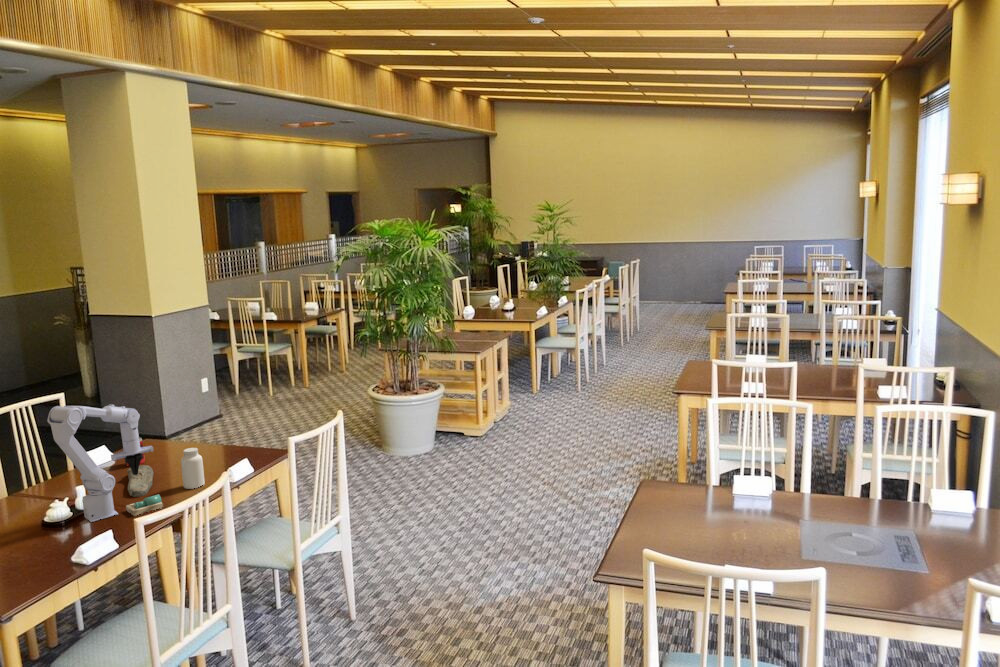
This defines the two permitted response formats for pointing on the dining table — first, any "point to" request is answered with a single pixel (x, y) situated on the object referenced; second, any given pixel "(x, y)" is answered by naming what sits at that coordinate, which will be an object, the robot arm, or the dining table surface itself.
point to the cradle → (136, 512)
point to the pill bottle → (192, 469)
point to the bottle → (148, 501)
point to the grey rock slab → (140, 481)
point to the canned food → (141, 454)
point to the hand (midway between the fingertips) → (135, 474)
